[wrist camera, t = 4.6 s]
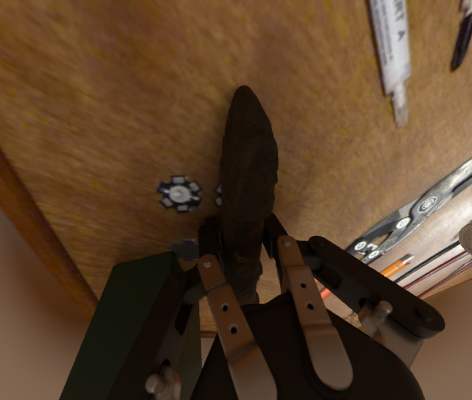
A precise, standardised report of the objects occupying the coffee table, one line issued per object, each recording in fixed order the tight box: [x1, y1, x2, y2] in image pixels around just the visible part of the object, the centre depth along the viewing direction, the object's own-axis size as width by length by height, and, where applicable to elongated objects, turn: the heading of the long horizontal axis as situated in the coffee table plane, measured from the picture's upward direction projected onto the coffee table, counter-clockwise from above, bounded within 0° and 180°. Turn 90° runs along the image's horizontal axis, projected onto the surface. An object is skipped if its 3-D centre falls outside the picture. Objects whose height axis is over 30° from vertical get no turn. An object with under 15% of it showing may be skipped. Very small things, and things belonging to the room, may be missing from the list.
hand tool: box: [219, 85, 279, 306], centre depth 13 cm, size 19×4×5 cm, turn 177°
